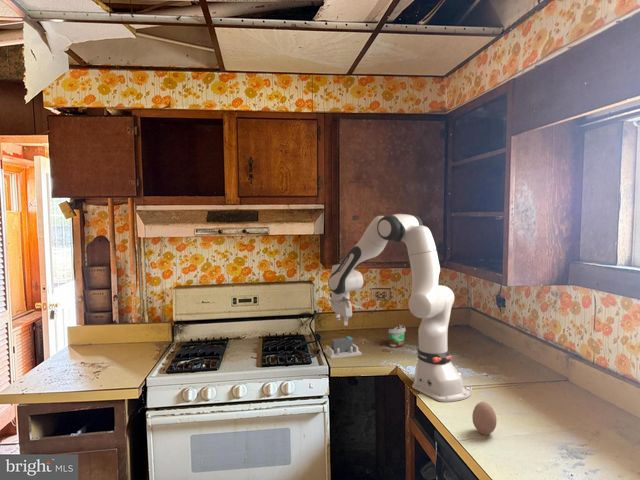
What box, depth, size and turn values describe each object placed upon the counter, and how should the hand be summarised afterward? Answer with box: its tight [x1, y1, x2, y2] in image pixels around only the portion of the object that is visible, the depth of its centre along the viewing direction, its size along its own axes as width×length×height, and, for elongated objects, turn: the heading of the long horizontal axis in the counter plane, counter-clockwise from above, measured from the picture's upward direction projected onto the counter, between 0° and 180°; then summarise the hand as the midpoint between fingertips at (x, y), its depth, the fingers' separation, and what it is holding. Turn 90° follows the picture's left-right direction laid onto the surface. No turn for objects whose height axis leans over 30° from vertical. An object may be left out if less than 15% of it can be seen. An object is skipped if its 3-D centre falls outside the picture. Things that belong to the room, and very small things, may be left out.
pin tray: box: [322, 343, 363, 360], centre depth 195 cm, size 12×16×4 cm
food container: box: [388, 323, 407, 349], centre depth 204 cm, size 12×6×10 cm, turn 143°
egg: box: [471, 401, 498, 436], centre depth 118 cm, size 7×7×10 cm
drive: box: [330, 335, 354, 354], centre depth 195 cm, size 4×10×6 cm, turn 108°
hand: (342, 323), depth 194 cm, fingers open, 8 cm apart
